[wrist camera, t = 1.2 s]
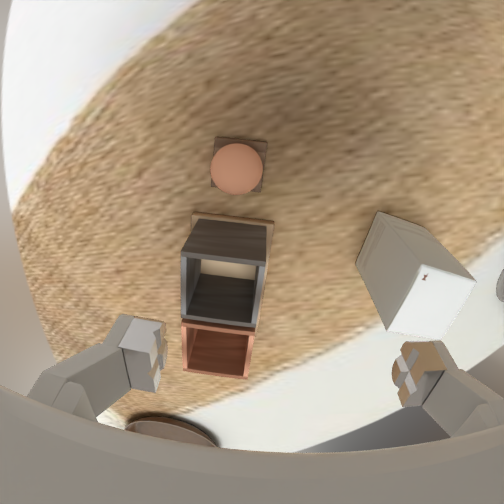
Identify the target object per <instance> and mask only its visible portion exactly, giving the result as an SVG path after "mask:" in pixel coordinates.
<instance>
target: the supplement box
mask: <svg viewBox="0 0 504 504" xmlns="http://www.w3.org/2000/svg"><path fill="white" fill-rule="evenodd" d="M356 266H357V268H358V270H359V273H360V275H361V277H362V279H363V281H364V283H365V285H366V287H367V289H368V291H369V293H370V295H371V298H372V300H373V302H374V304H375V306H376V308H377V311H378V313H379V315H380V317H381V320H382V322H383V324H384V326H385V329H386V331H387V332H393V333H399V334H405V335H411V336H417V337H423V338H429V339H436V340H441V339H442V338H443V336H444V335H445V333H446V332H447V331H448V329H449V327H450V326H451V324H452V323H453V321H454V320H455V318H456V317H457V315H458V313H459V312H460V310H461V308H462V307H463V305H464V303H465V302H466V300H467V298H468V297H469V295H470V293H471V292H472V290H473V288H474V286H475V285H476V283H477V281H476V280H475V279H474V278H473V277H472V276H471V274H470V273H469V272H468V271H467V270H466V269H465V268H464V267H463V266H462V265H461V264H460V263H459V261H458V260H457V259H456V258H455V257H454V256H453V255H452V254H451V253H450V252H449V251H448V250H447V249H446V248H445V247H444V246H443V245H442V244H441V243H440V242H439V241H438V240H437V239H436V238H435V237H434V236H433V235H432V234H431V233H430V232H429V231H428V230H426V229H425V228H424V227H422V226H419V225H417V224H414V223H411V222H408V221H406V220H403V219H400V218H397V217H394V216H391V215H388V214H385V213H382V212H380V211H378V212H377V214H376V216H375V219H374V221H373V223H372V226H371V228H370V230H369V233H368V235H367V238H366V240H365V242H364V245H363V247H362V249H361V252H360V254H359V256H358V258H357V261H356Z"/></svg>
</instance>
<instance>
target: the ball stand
mask: <svg viewBox="0 0 504 504" xmlns="http://www.w3.org/2000/svg"><path fill="white" fill-rule="evenodd" d="M234 143H240V144H244V145H247V146H249V147H251V148H252V149H254V150H255V151H256V152H257V154H258V155H259V157H260V159H261V161H262V166H263V170H264V162H265V155H266V147H267V142H262V141H254V140H245V139H235V138H225V137H216V138H215V145H214V155H215V154H216V153H217V151H219V150H220V149H221V148H222V147H224V146H226V145H229V144H234ZM213 157H214V156H213ZM262 178H263V172H262V176H261V179H260V181H259V183H258V184H257V186H256V187H255V188H254V189H252V190H251V191H254V192H261V186H262ZM211 187H217V186H216V185H215V183H214V181H213V179H212V180H211Z"/></svg>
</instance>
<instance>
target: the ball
mask: <svg viewBox="0 0 504 504" xmlns="http://www.w3.org/2000/svg"><path fill="white" fill-rule="evenodd" d="M210 172H211V177H212V179H213V181H214V183H215V185H216V186H217V187H218V188H219V189H220V190H222V191H224V192H226V193H228V194H232V195H241V194H245V193H247V192H249V191H251V190H252V189H254V188H255V187H256V186H257V184H258V183H259V181H260V179H261V176H262V172H263V166H262V161H261V159H260V157H259V155H258V154H257V152H256V151H255V150H254V149H252V148H251V147H249V146H247V145H244V144H240V143H234V144H229V145H226V146H224V147H222V148H221V149H220V150H219V151H217V153H216V154H215V155H214V157H213V159H212V162H211V166H210Z"/></svg>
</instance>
